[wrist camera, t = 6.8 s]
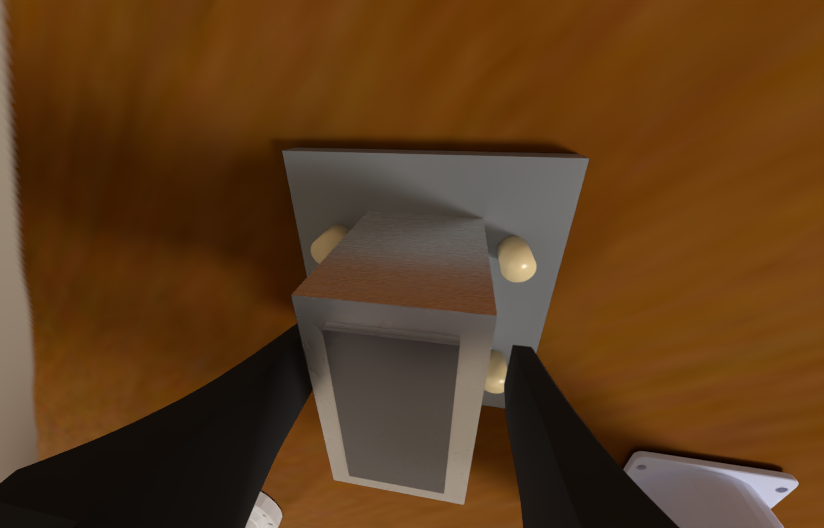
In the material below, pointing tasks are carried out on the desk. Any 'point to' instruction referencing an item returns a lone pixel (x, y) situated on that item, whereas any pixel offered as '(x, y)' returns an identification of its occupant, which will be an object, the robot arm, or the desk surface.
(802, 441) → the desk surface
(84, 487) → the robot arm
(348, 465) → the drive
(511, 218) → the tray
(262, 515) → the mechanical component
